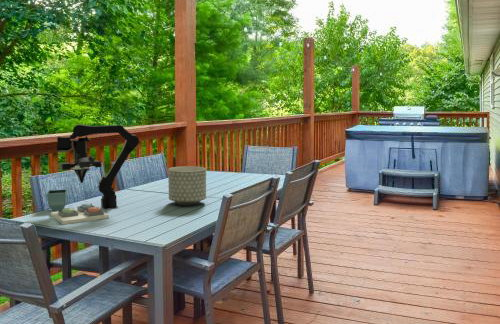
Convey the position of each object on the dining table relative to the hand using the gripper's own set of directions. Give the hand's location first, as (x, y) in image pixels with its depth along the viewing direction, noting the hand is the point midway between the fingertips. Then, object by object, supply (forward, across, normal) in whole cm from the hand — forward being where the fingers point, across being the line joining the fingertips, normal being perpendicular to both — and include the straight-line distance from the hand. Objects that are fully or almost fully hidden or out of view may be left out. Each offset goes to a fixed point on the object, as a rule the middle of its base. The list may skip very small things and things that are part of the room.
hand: (81, 182), depth 244 cm
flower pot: (+13, -10, +6) cm, 18 cm away
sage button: (+11, -11, -15) cm, 22 cm away
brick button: (+11, -1, -20) cm, 23 cm away
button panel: (+13, -6, -15) cm, 21 cm away
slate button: (+11, -1, -10) cm, 15 cm away
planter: (+13, +48, -18) cm, 53 cm away
